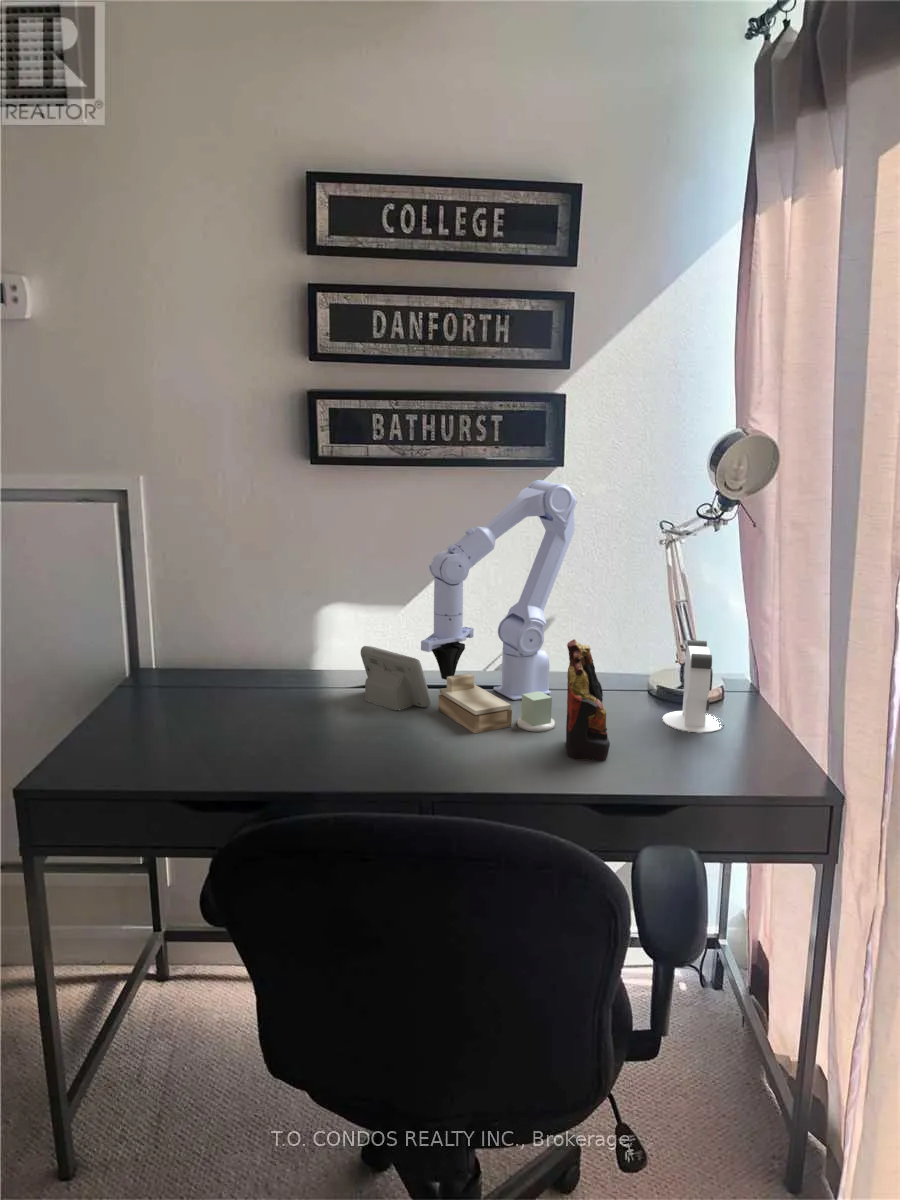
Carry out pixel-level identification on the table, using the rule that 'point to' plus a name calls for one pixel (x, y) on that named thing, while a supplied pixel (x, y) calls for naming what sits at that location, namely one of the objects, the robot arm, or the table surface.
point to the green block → (536, 708)
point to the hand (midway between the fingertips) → (447, 678)
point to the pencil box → (475, 717)
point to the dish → (537, 728)
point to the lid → (472, 695)
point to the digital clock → (394, 679)
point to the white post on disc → (695, 692)
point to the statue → (584, 707)
